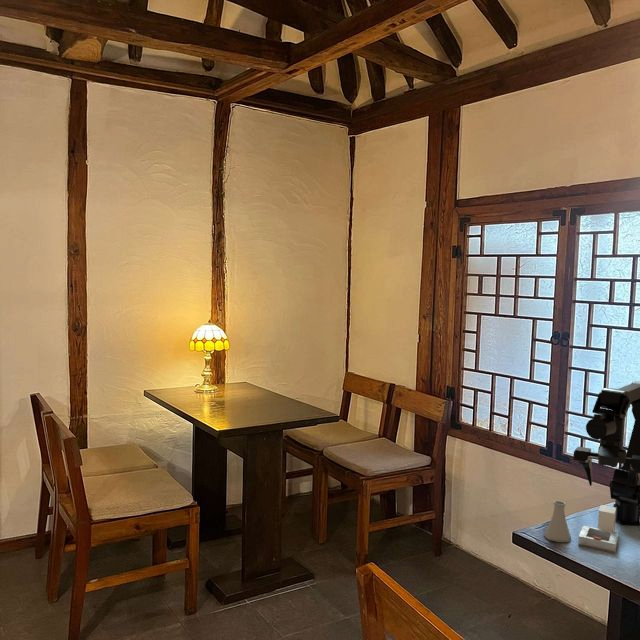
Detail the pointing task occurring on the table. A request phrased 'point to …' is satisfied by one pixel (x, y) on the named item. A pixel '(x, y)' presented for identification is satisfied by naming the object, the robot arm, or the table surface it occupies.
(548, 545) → the table surface
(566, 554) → the table surface
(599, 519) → the plug
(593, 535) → the socket
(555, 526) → the flask
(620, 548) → the table surface
